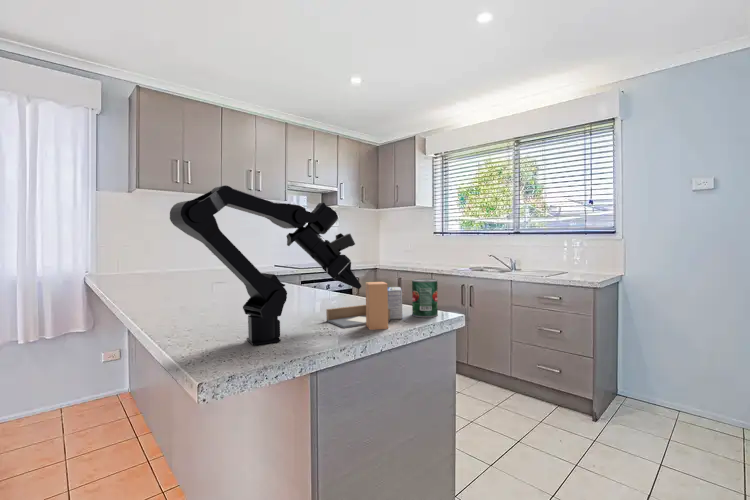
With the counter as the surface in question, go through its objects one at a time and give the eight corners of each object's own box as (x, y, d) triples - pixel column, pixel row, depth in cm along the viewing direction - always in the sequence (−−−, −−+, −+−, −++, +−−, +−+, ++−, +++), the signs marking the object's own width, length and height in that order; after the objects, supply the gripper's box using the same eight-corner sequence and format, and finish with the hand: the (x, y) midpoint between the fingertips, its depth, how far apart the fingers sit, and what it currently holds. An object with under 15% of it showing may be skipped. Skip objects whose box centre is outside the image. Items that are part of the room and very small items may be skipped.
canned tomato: (407, 314, 127) (407, 279, 126) (429, 311, 130) (429, 277, 129) (420, 318, 119) (419, 281, 119) (442, 316, 122) (442, 280, 122)
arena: (343, 328, 108) (343, 315, 108) (326, 321, 117) (326, 309, 117) (390, 321, 116) (390, 309, 116) (370, 315, 125) (370, 304, 125)
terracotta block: (369, 329, 106) (369, 284, 105) (366, 325, 111) (365, 282, 110) (388, 328, 107) (387, 283, 106) (383, 324, 112) (383, 281, 111)
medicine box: (402, 319, 119) (402, 290, 118) (387, 319, 119) (387, 290, 118) (401, 314, 127) (401, 286, 126) (387, 314, 127) (386, 286, 126)
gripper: (340, 221, 97) (385, 266, 99) (332, 224, 115) (370, 261, 118) (308, 255, 95) (355, 299, 98) (305, 252, 113) (344, 289, 116)
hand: (357, 285), depth 107 cm, fingers open, 9 cm apart
